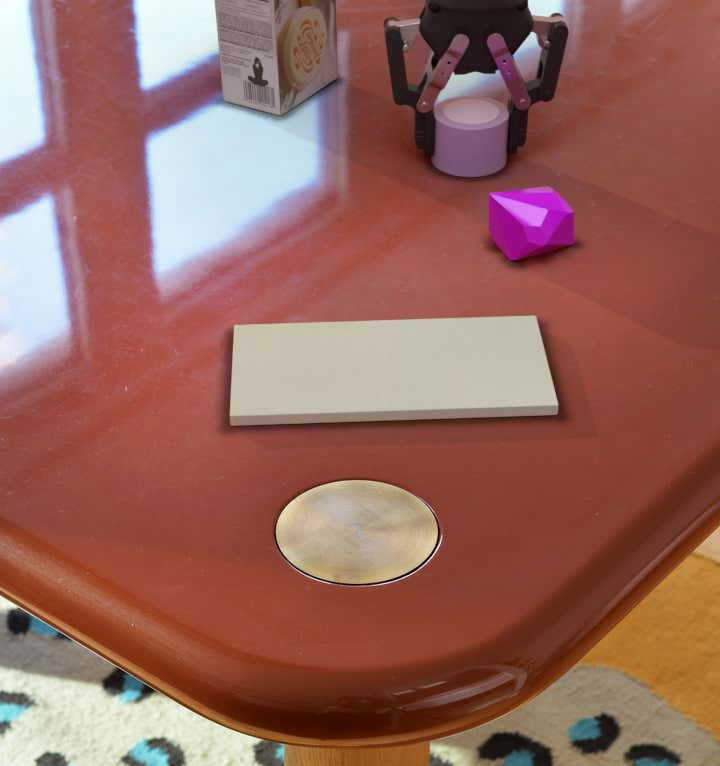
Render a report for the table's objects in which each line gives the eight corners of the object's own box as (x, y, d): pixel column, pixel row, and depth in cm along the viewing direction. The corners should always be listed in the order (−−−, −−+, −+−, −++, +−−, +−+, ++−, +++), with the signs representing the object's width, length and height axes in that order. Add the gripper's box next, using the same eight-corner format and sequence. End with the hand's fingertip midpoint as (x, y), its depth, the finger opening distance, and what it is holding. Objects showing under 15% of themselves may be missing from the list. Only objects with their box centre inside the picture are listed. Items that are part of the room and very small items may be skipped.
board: (535, 325, 91) (536, 315, 90) (557, 415, 83) (558, 404, 83) (234, 334, 90) (234, 324, 90) (230, 426, 83) (229, 415, 82)
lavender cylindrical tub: (501, 141, 111) (505, 93, 108) (511, 176, 106) (514, 127, 103) (428, 143, 111) (429, 95, 108) (434, 178, 106) (435, 129, 103)
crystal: (537, 274, 95) (542, 215, 92) (476, 249, 98) (479, 190, 95) (579, 246, 98) (586, 187, 95) (519, 222, 101) (523, 164, 98)
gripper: (381, -49, 94) (381, 176, 105) (589, -54, 94) (567, 170, 105) (376, -85, 99) (376, 132, 110) (572, -90, 100) (552, 127, 111)
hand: (469, 150), depth 108 cm, fingers closed on lavender cylindrical tub, 6 cm apart
